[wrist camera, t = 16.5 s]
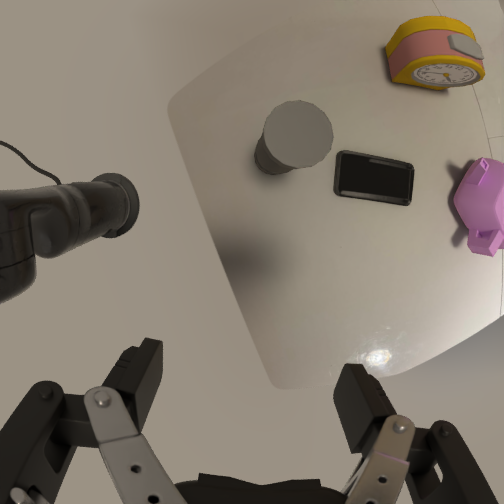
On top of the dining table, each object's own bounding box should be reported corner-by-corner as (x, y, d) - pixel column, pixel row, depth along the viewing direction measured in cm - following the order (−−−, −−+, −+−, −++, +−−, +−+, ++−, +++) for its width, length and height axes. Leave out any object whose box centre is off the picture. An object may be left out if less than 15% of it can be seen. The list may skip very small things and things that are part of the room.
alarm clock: (384, 84, 42) (439, 51, 24) (377, 46, 40) (424, 4, 22) (445, 94, 42) (505, 76, 24) (438, 59, 40) (492, 33, 22)
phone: (410, 206, 47) (334, 195, 46) (407, 206, 48) (333, 194, 47) (414, 164, 45) (339, 148, 44) (411, 164, 46) (337, 149, 45)
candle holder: (262, 179, 47) (276, 181, 23) (248, 144, 45) (248, 110, 21) (297, 167, 46) (346, 158, 22) (284, 132, 45) (320, 89, 21)
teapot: (440, 158, 45) (492, 157, 31) (495, 154, 45) (542, 156, 30) (447, 252, 50) (494, 275, 36) (499, 237, 49) (543, 253, 35)
